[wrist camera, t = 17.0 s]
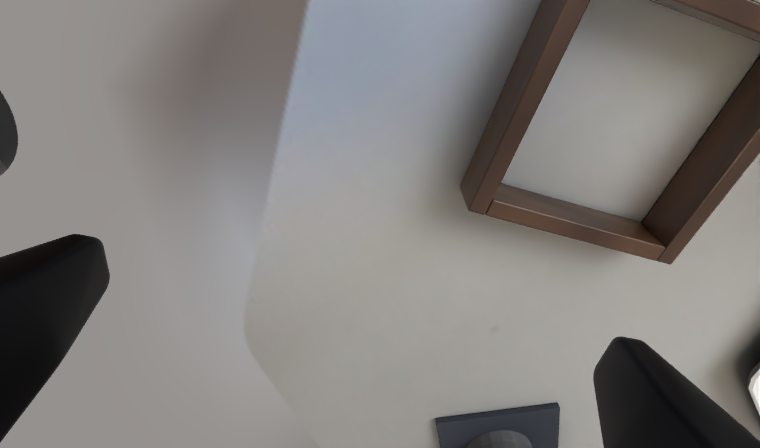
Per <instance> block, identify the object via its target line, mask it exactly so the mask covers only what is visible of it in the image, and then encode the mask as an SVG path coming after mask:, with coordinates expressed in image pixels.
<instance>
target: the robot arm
mask: <svg viewBox="0 0 760 448" xmlns="http://www.w3.org/2000/svg"><path fill="white" fill-rule="evenodd" d="M109 278H110V274H109V269H108V265H107V260H106V256H105V251H104V246H103V243H102V242H101V241H100V240H99V239H97V238H95V237H90V236H85V235H80V234H72V235H68V236H65V237H62V238H59V239H56V240H53V241H50V242H47V243H43V244H40V245H37V246H34V247H31V248H28V249H25V250H22V251H19V252H16V253H12V254H9V255H6V256H3V257H0V442H1V441H2V440H3V438H4V437H5V436H6V434H7V433H8V431H9V430H10V429H11V428H12V426H13V425H14V424H15V422H16V421H17V420H18V419H19V417H20V416H21V415H22V413H23V412H24V411H25V409H26V408H27V407H28V405H29V404H30V403H31V402H32V400H33V399H34V398H35V396H36V395H37V394H38V392H39V391H40V390H41V388H42V387H43V386H44V385H45V383H46V382H47V381H48V379H49V378H50V377H51V375H52V374H53V373H54V371H55V370H56V368H57V367H58V366H59V364H60V363H61V361H62V360H63V358H64V357H65V355H66V354H67V352H68V351H69V349H70V347H71V346H72V344H73V342H74V341H75V339H76V338H77V336H78V334H79V333H80V331H81V329H82V328H83V326H84V325H85V323H86V321H87V320H88V318H89V317H90V315H91V313H92V311H93V310H94V308H95V307H96V305H97V304H98V302H99V300H100V299H101V297H102V295H103V294H104V292H105V291H106V289H107V286H108V284H109ZM594 387H595V393H596V400H597V406H598V413H599V419H600V425H601V432H602V438H603V445H604V448H760V440H759V439H758V438H756V437H755V436H754V435H753V434H752V433H750V432H749V431H748V430H747V429H746V428H745V427H743V426H742V425H741V424H740V423H739V422H738V421H736V420H735V419H734V418H733V417H732V416H730V415H729V414H728V413H727V412H726V411H725V410H723V409H722V408H721V407H720V406H719V405H718V404H716V403H715V402H714V401H713V400H712V399H710V398H709V397H708V396H707V395H706V394H705V393H703V392H702V391H701V390H700V389H699V388H698V387H696V386H695V385H694V384H693V383H692V382H691V381H689V380H688V379H687V378H686V377H685V376H683V375H682V374H681V373H680V372H679V371H678V370H676V369H675V368H674V367H673V366H672V365H671V364H669V363H668V362H667V361H666V360H665V359H664V358H662V357H661V356H660V355H659V354H658V353H656V352H655V351H654V350H653V349H652V348H651V347H649V346H648V345H647V344H646V343H645V342H643V341H641V340H637V339H632V338H626V337H616V338H615V339H613V340H612V341H611V343H610V345H609V346H608V348H607V349H606V351H605V353H604V354H603V356H602V357H601V359H600V361H599V362H598V364H597V365H596V367H595V370H594Z"/></svg>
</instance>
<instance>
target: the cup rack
mask: <svg viewBox="0 0 760 448" xmlns="http://www.w3.org/2000/svg"><path fill="white" fill-rule="evenodd" d="M651 1H654V2H657V3H659V4H662V5H665V6H667V7H670V8H672V9H675V10H678V11H680V12H683V13H685V14H688V15H691V16H693V17H696V18H699V19H701V20H704V21H706V22H709V23H712V24H714V25H717V26H720V27H722V28H725V29H727V30H730V31H733V32H735V33H738V34H740V35H743V36H746V37H748V38H751V39H754V40H756V41H759V42H760V3H759V2H756V1H754V0H651ZM589 2H590V0H542V2H541V5H540V7H539V9H538V11H537V14H536V16H535V18H534V20H533V23H532V25H531V27H530V29H529V32H528V34H527V36H526V39H525V41H524V43H523V45H522V48H521V50H520V52H519V54H518V57H517V59H516V61H515V63H514V66H513V68H512V70H511V72H510V75H509V77H508V79H507V82H506V84H505V86H504V88H503V91H502V93H501V95H500V97H499V100H498V102H497V104H496V106H495V109H494V111H493V113H492V115H491V118H490V120H489V122H488V124H487V127H486V129H485V131H484V134H483V136H482V138H481V140H480V143H479V145H478V147H477V149H476V152H475V154H474V156H473V158H472V161H471V163H470V165H469V167H468V170H467V172H466V174H465V177H464V179H463V181H462V183H461V186H460V190H461V193H462V195H463V198H464V200H465V203H466V206H467V208H468V210H469V211H472V212H476V213H480V214H485V215H487V216H491V217H494V218H498V219H502V220H506V221H509V222H513V223H517V224H520V225H524V226H528V227H532V228H535V229H539V230H543V231H547V232H550V233H554V234H558V235H562V236H565V237H569V238H573V239H576V240H580V241H584V242H588V243H591V244H595V245H599V246H603V247H606V248H610V249H614V250H617V251H621V252H625V253H629V254H632V255H636V256H640V257H644V258H647V259H651V260H657V261H659V262H663V263H667V264H672V262H673V261H674V260H675V259H676V257H677V256H678V255H679V254H680V252H681V251H682V250H683V249H684V247H685V246H686V245H687V244H688V242H689V241H690V240H691V239H692V237H693V236H694V235H695V234H696V232H697V231H698V230H699V228H700V227H701V226H702V225H703V223H704V222H705V221H706V220H707V218H708V217H709V216H710V215H711V213H712V212H713V211H714V210H715V208H716V207H717V206H718V205H719V203H720V202H721V201H722V200H723V198H724V197H725V196H726V194H727V193H728V192H729V191H730V189H731V188H732V187H733V186H734V184H735V183H736V182H737V181H738V179H739V178H740V177H741V176H742V174H743V173H744V172H745V171H746V169H747V168H748V167H749V165H750V164H751V163H752V162H753V160H754V159H755V158H756V157H757V155H758V154H759V153H760V57H759V59H758V60H757V62H756V63H755V64H754V66H753V67H752V69H751V70H750V71H749V73H748V74H747V76H746V77H745V79H744V80H743V81H742V83H741V84H740V86H739V87H738V88H737V90H736V91H735V93H734V94H733V95H732V97H731V98H730V100H729V101H728V102H727V104H726V105H725V107H724V108H723V110H722V111H721V112H720V114H719V115H718V117H717V118H716V119H715V121H714V122H713V124H712V125H711V126H710V128H709V129H708V131H707V132H706V133H705V135H704V136H703V138H702V139H701V140H700V142H699V143H698V145H697V146H696V148H695V149H694V150H693V152H692V153H691V155H690V156H689V157H688V159H687V160H686V162H685V163H684V164H683V166H682V167H681V169H680V170H679V171H678V173H677V174H676V176H675V177H674V179H673V180H672V181H671V183H670V184H669V186H668V187H667V188H666V190H665V191H664V193H663V194H662V195H661V197H660V198H659V200H658V201H657V202H656V204H655V205H654V207H653V208H652V210H651V211H650V212H649V214H648V215H647V217H646V218H645V219H644V221H643V222H642V224H641V223H639V222H636V221H632V220H629V219H625V218H622V217H618V216H615V215H611V214H608V213H604V212H601V211H597V210H593V209H590V208H586V207H583V206H579V205H576V204H572V203H569V202H565V201H562V200H558V199H555V198H551V197H547V196H544V195H540V194H537V193H533V192H530V191H526V190H523V189H519V188H516V187H512V186H509V185H505V184H502V183H501V181H502V179H503V177H504V175H505V173H506V171H507V169H508V167H509V165H510V162H511V160H512V158H513V156H514V154H515V152H516V150H517V148H518V146H519V144H520V142H521V140H522V138H523V136H524V134H525V132H526V130H527V128H528V126H529V124H530V122H531V120H532V118H533V116H534V114H535V112H536V110H537V108H538V106H539V104H540V102H541V99H542V97H543V95H544V93H545V91H546V89H547V87H548V85H549V83H550V81H551V79H552V77H553V75H554V73H555V71H556V69H557V67H558V65H559V63H560V61H561V59H562V57H563V55H564V53H565V51H566V49H567V47H568V45H569V43H570V41H571V38H572V36H573V34H574V32H575V30H576V28H577V26H578V24H579V22H580V20H581V18H582V16H583V14H584V12H585V10H586V8H587V6H588V4H589Z"/></svg>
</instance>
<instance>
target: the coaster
mask: <svg viewBox="0 0 760 448" xmlns="http://www.w3.org/2000/svg"><path fill="white" fill-rule="evenodd" d="M559 413H560V407H559V405H558V403H553V404H545V405H538V406H530V407H522V408H514V409H507V410H499V411H491V412H483V413H476V414H468V415H460V416H452V417H445V418H437V419H435V420H436V426H437V432H438V437H439V442H440V448H467V446H468V445H469V444H470V442H471V441H472V440H474V439H475V438H477V437H478V436H480V435H482V434H485V433H488V432H492V431H498V430H511V431H515V432H519V433H521V434H523V435H524V436H526V437H527V438H528V440H529V441H530V443H531V446H532V448H558V435H559Z"/></svg>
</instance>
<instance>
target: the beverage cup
mask: <svg viewBox="0 0 760 448" xmlns="http://www.w3.org/2000/svg"><path fill="white" fill-rule="evenodd" d="M467 448H532V446H531V443H530V441H529V440H528V438H527V437H526V436H524V435H523V434H521V433H519V432H515V431H511V430H498V431H492V432H488V433H485V434H482V435H480V436H478V437H477V438H475V439H474V440H472V441H471V442H470V444H469V445H468V446H467Z"/></svg>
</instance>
